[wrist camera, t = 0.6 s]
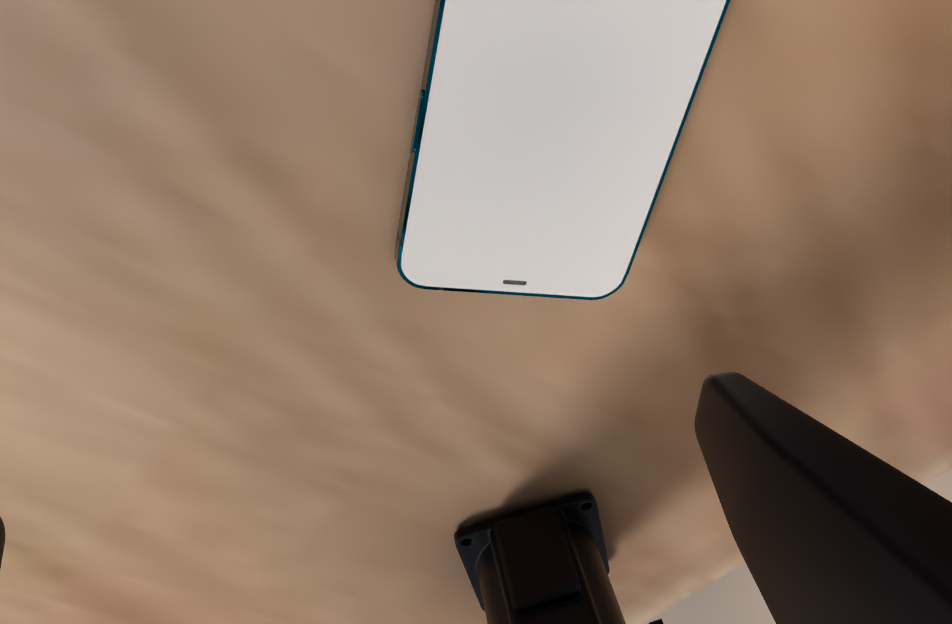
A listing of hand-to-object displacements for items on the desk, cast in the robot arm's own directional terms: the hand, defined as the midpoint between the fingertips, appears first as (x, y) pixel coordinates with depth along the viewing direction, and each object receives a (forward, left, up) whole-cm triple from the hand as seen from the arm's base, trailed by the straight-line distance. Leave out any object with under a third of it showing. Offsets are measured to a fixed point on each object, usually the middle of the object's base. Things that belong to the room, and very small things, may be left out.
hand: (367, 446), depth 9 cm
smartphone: (-1, -6, -14) cm, 15 cm away
